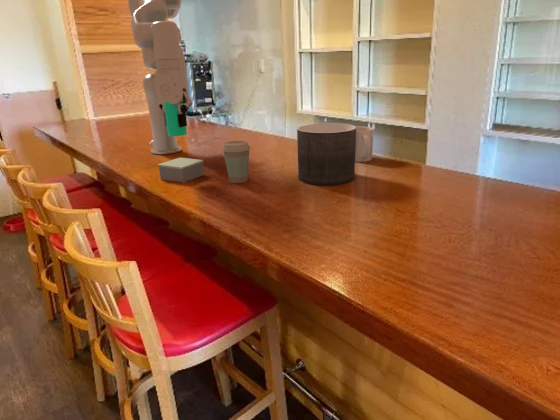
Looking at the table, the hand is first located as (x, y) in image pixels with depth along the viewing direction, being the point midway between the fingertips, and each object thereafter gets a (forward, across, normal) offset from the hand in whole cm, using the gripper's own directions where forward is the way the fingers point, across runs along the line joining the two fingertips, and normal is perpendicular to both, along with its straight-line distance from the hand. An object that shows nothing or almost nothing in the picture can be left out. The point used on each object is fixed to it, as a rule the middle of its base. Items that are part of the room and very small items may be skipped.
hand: (176, 125), depth 134 cm
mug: (+17, +45, +44) cm, 65 cm away
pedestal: (+17, 0, 0) cm, 17 cm away
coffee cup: (+17, +20, +4) cm, 27 cm away
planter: (+17, +44, +18) cm, 51 cm away
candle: (+3, 0, 0) cm, 3 cm away
